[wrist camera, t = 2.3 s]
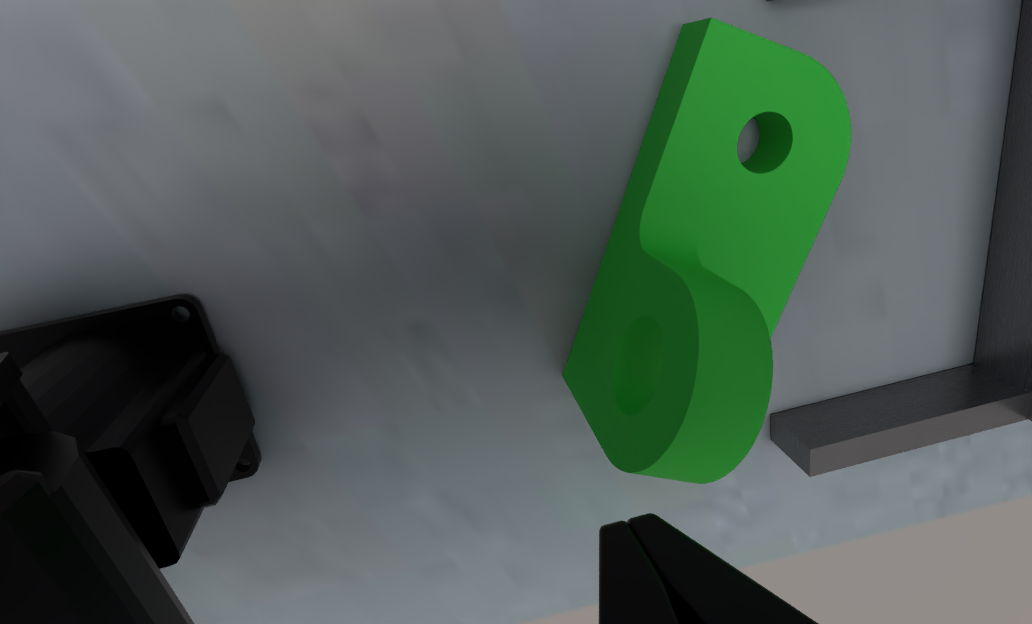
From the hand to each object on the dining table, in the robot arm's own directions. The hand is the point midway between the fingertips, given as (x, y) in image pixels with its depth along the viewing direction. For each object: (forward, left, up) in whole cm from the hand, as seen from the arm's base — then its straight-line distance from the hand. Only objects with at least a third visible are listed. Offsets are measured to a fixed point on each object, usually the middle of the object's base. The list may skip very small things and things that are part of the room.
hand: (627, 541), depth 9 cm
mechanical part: (+7, +1, -12) cm, 14 cm away
